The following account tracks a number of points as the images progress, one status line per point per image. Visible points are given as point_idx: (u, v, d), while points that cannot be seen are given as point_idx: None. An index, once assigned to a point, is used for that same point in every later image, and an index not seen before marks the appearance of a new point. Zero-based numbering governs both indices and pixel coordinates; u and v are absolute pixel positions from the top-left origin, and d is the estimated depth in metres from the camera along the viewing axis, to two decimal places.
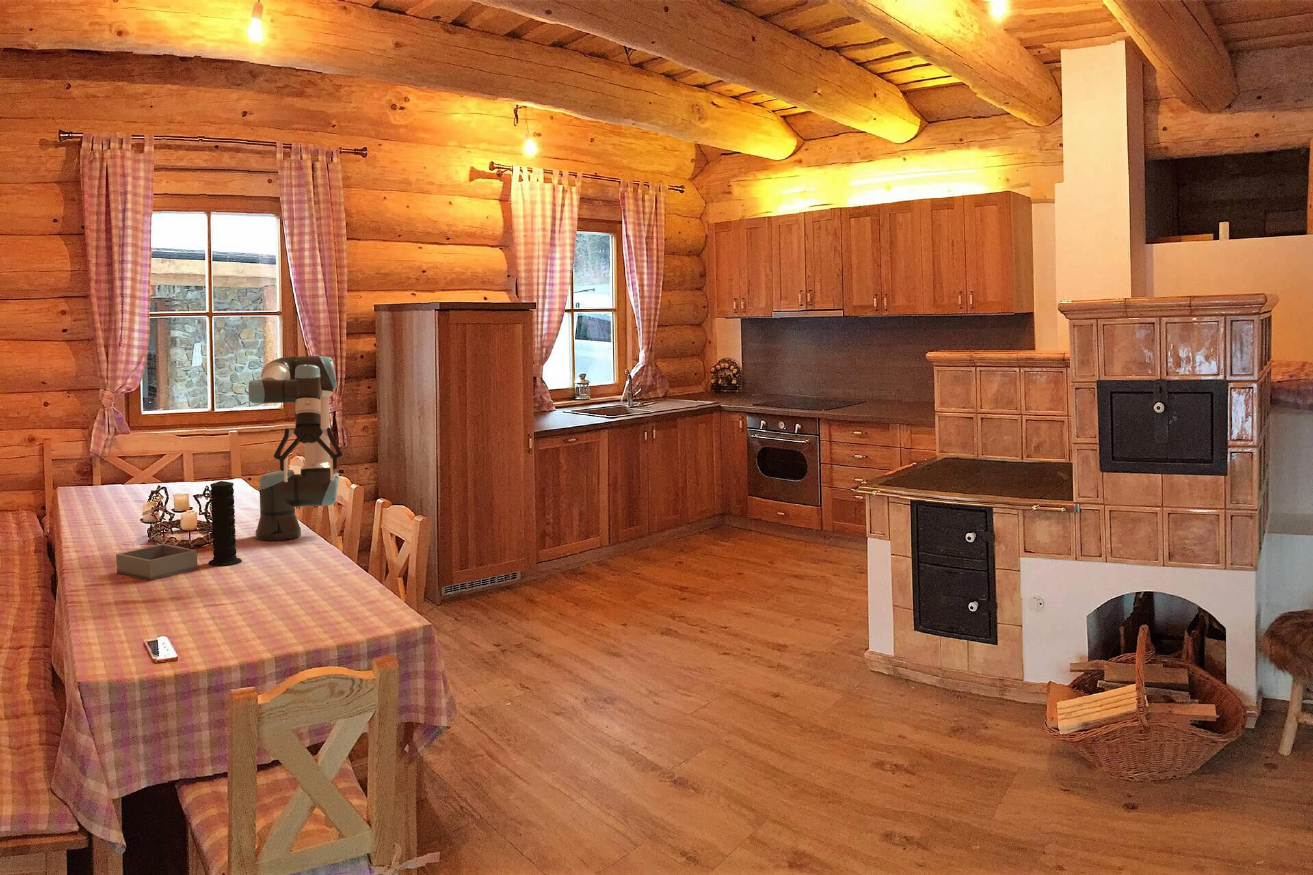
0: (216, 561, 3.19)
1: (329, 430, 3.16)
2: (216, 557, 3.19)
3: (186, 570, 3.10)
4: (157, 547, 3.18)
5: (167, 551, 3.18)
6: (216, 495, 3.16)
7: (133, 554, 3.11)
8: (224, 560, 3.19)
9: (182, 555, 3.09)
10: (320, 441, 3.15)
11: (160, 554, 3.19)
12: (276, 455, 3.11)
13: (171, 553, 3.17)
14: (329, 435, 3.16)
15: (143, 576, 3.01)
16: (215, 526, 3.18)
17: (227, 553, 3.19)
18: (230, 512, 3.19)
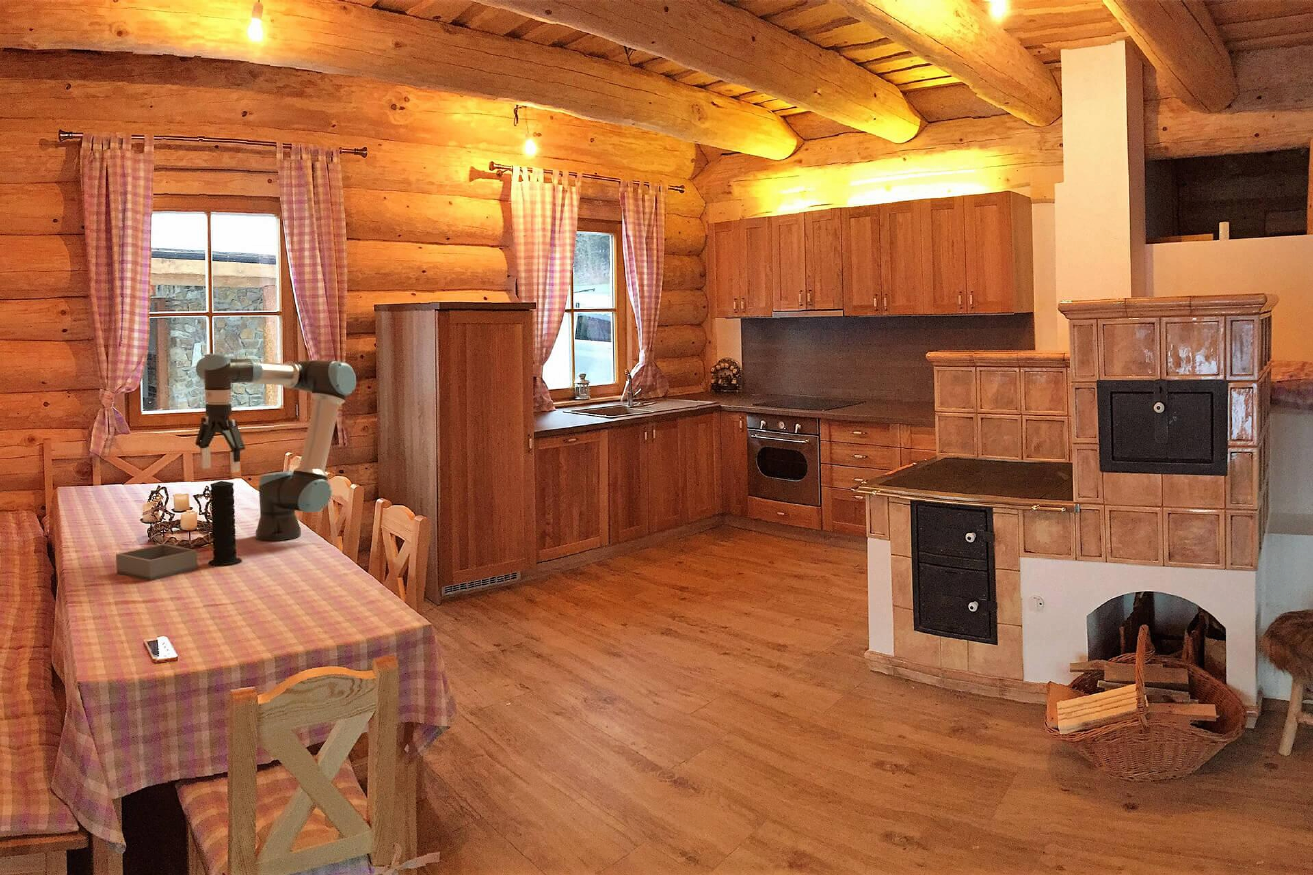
0: (216, 561, 3.19)
1: (229, 423, 3.12)
2: (216, 557, 3.19)
3: (186, 570, 3.10)
4: (157, 547, 3.18)
5: (167, 551, 3.18)
6: (216, 495, 3.16)
7: (133, 554, 3.11)
8: (224, 560, 3.19)
9: (182, 555, 3.09)
10: (223, 433, 3.14)
11: (160, 554, 3.19)
12: (196, 443, 3.21)
13: (171, 553, 3.17)
14: (229, 428, 3.13)
15: (143, 576, 3.01)
16: (215, 526, 3.18)
17: (227, 553, 3.19)
18: (230, 512, 3.19)
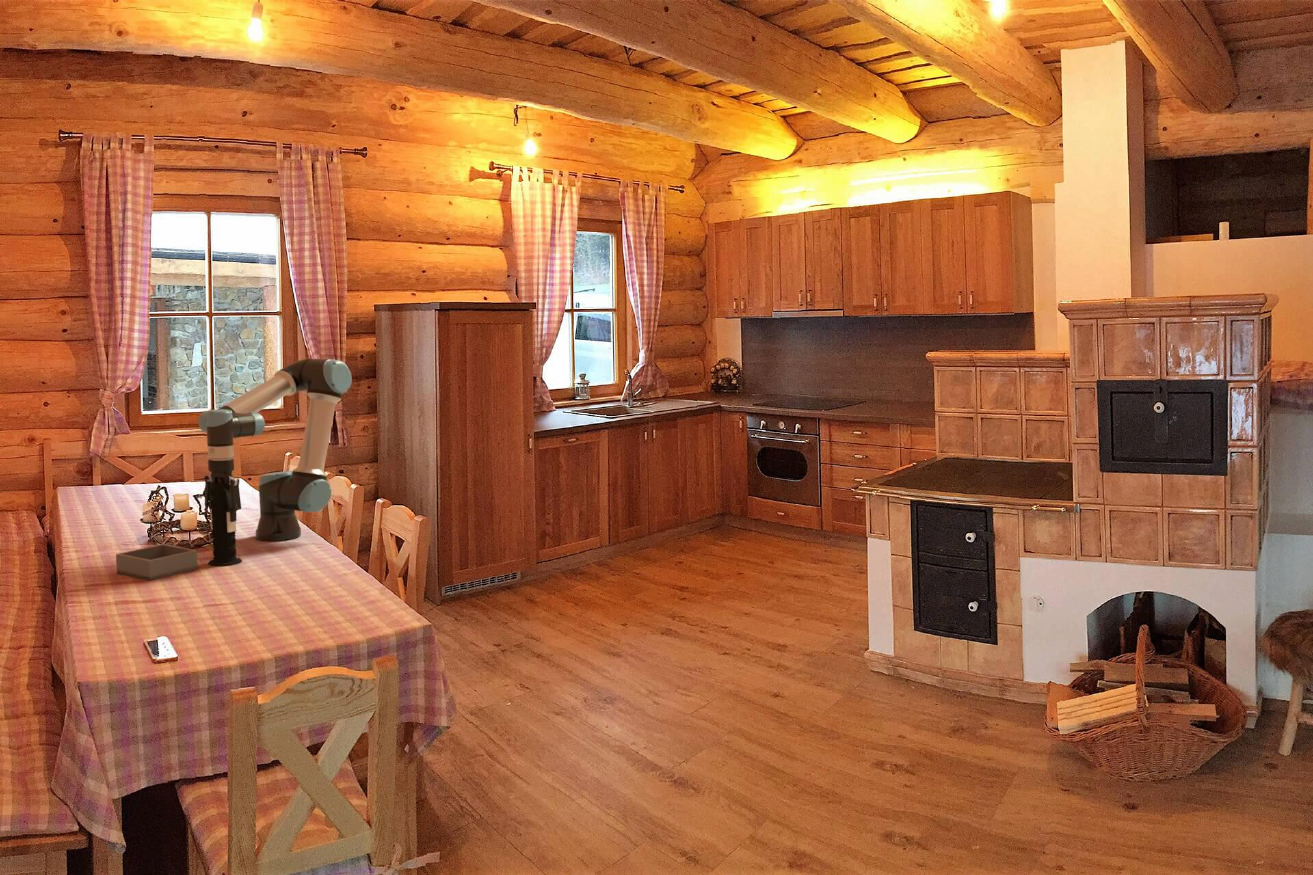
0: (216, 561, 3.19)
1: (231, 482, 3.15)
2: (216, 557, 3.19)
3: (186, 570, 3.10)
4: (157, 547, 3.18)
5: (167, 551, 3.18)
6: (216, 495, 3.16)
7: (133, 554, 3.11)
8: (224, 560, 3.19)
9: (182, 555, 3.09)
10: (223, 490, 3.17)
11: (160, 554, 3.19)
12: (206, 503, 3.22)
13: (171, 553, 3.17)
14: (230, 487, 3.15)
15: (143, 576, 3.01)
16: (215, 526, 3.18)
17: (227, 553, 3.19)
18: None
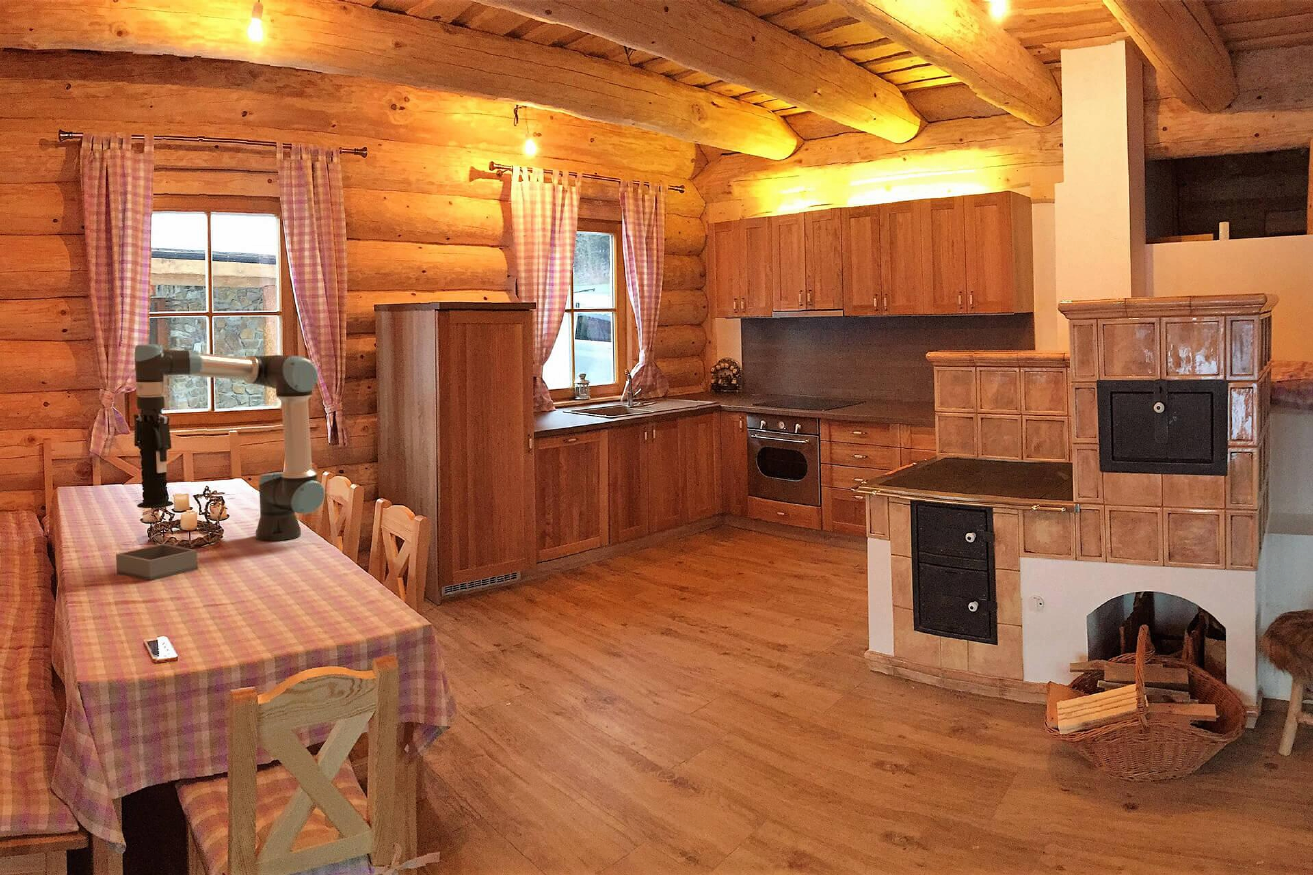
0: (145, 503, 3.05)
1: (160, 420, 3.01)
2: (145, 499, 3.05)
3: (186, 570, 3.10)
4: (157, 547, 3.18)
5: (167, 551, 3.18)
6: (145, 433, 3.02)
7: (133, 554, 3.11)
8: (154, 502, 3.05)
9: (182, 555, 3.09)
10: None
11: (160, 554, 3.19)
12: (135, 443, 3.08)
13: (171, 553, 3.17)
14: (160, 425, 3.01)
15: (143, 576, 3.01)
16: (144, 466, 3.04)
17: (157, 495, 3.05)
18: None
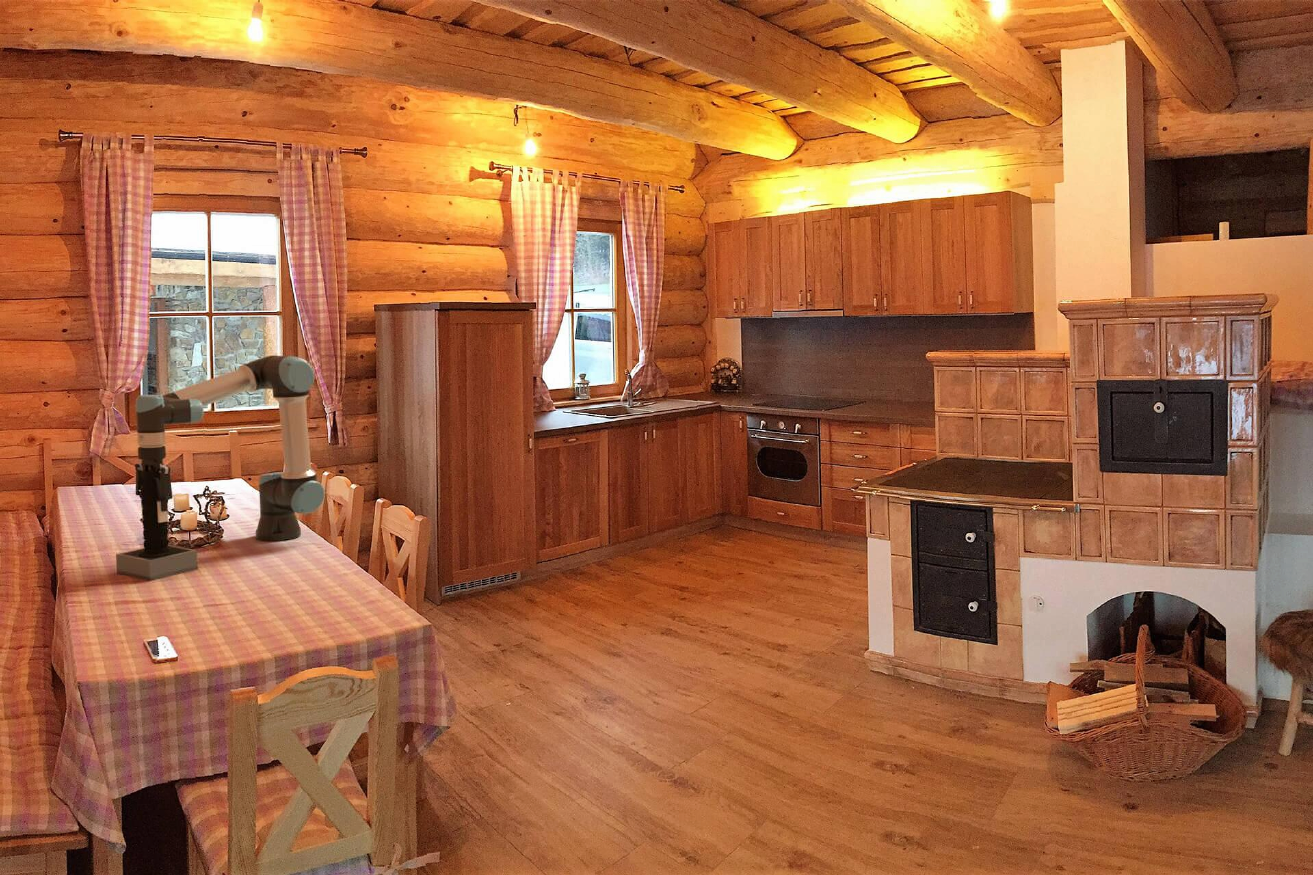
0: (146, 552, 3.06)
1: (161, 470, 3.02)
2: (146, 548, 3.07)
3: (186, 570, 3.10)
4: None
5: None
6: (146, 484, 3.04)
7: (133, 554, 3.11)
8: (155, 551, 3.06)
9: (182, 555, 3.09)
10: None
11: None
12: (136, 493, 3.09)
13: None
14: (161, 475, 3.03)
15: (143, 576, 3.01)
16: (145, 516, 3.05)
17: (158, 544, 3.07)
18: None
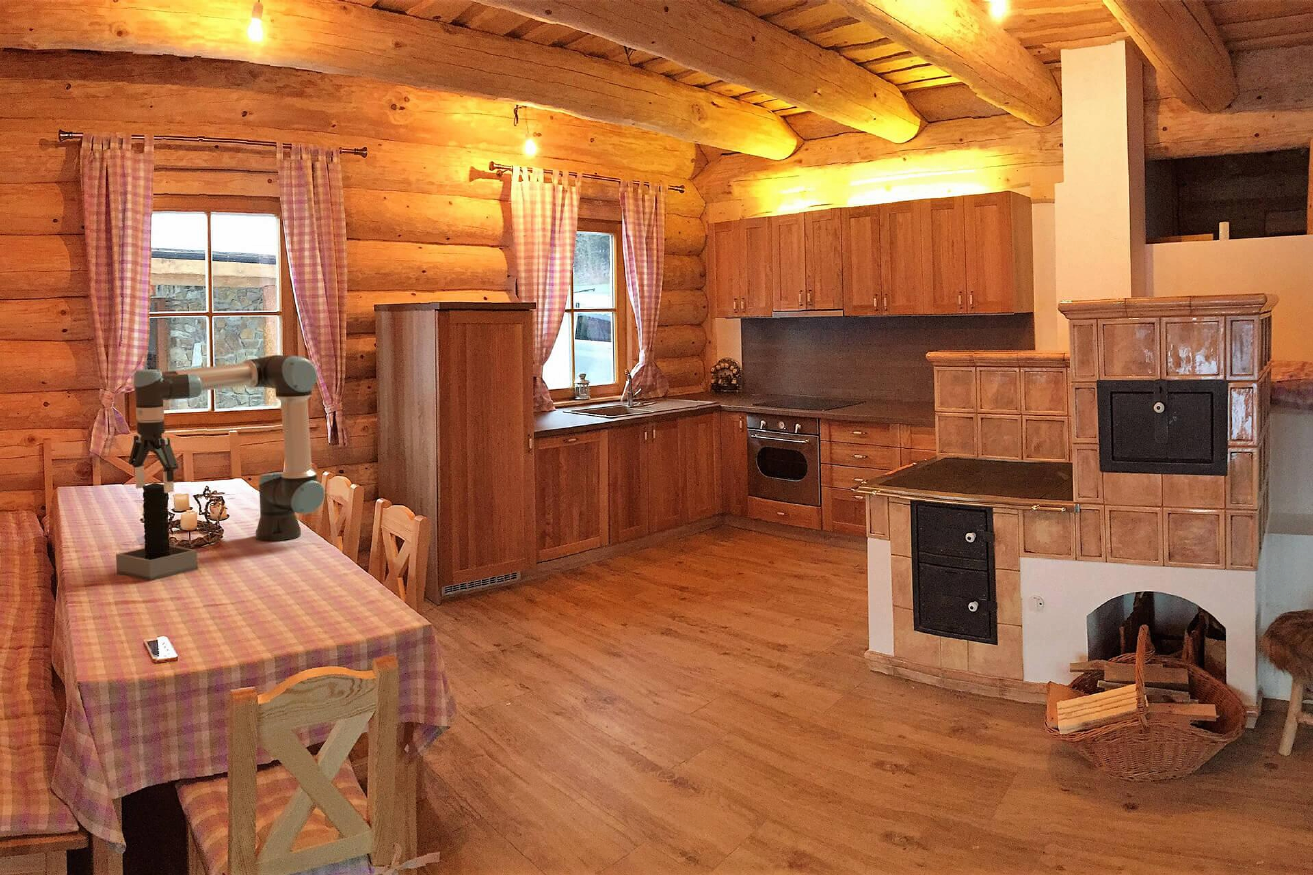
0: None
1: (161, 441, 3.01)
2: None
3: (186, 570, 3.10)
4: None
5: None
6: (148, 498, 3.05)
7: (133, 554, 3.11)
8: None
9: (182, 555, 3.09)
10: (155, 452, 3.03)
11: None
12: (130, 462, 3.10)
13: (171, 553, 3.17)
14: (161, 446, 3.02)
15: (143, 576, 3.01)
16: (147, 530, 3.06)
17: None
18: (163, 516, 3.07)
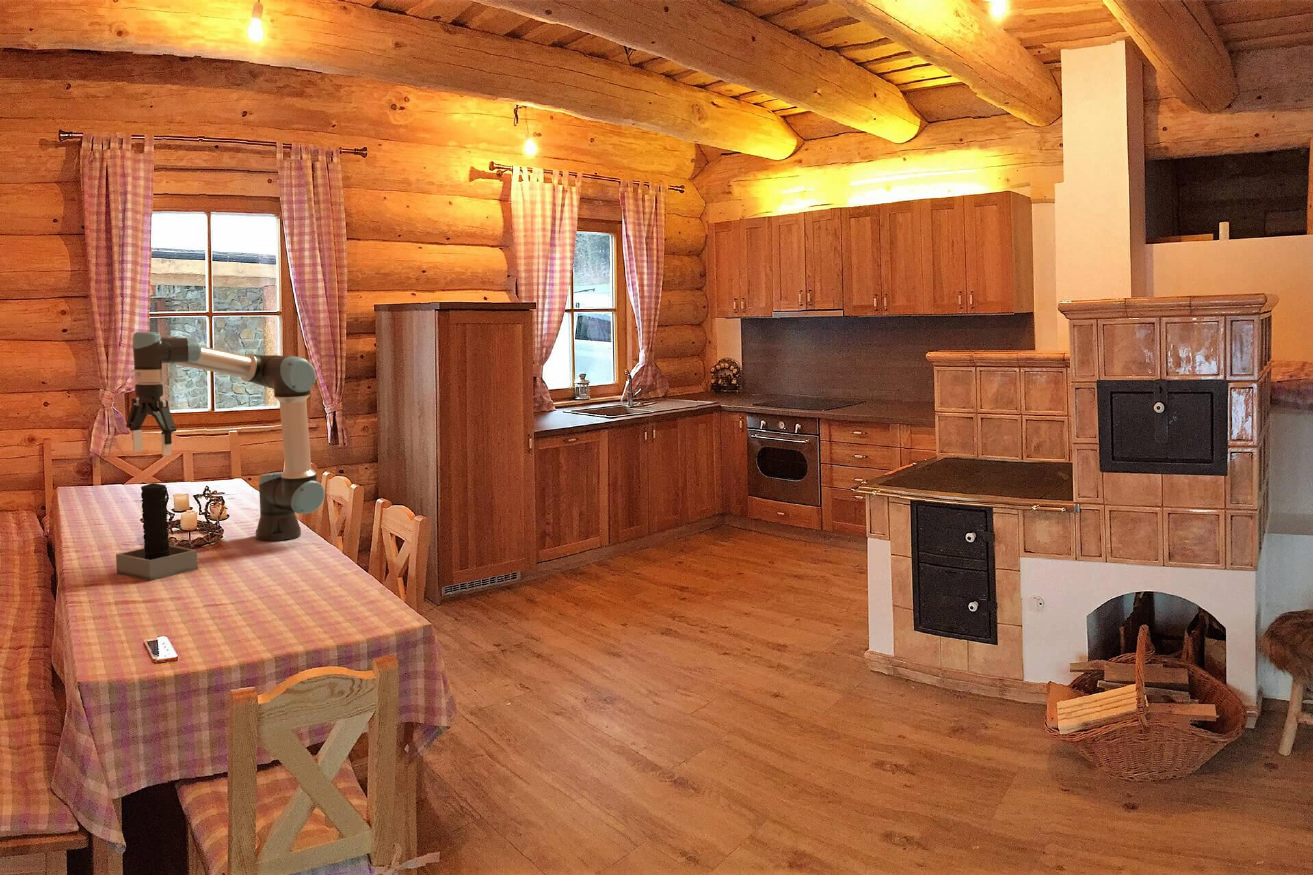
0: None
1: (159, 403, 3.00)
2: None
3: (186, 570, 3.10)
4: None
5: None
6: (147, 498, 3.05)
7: (133, 554, 3.11)
8: None
9: (182, 555, 3.09)
10: (153, 415, 3.02)
11: None
12: (127, 425, 3.08)
13: (171, 553, 3.17)
14: (160, 409, 3.00)
15: (143, 576, 3.01)
16: (146, 530, 3.06)
17: None
18: (162, 515, 3.07)
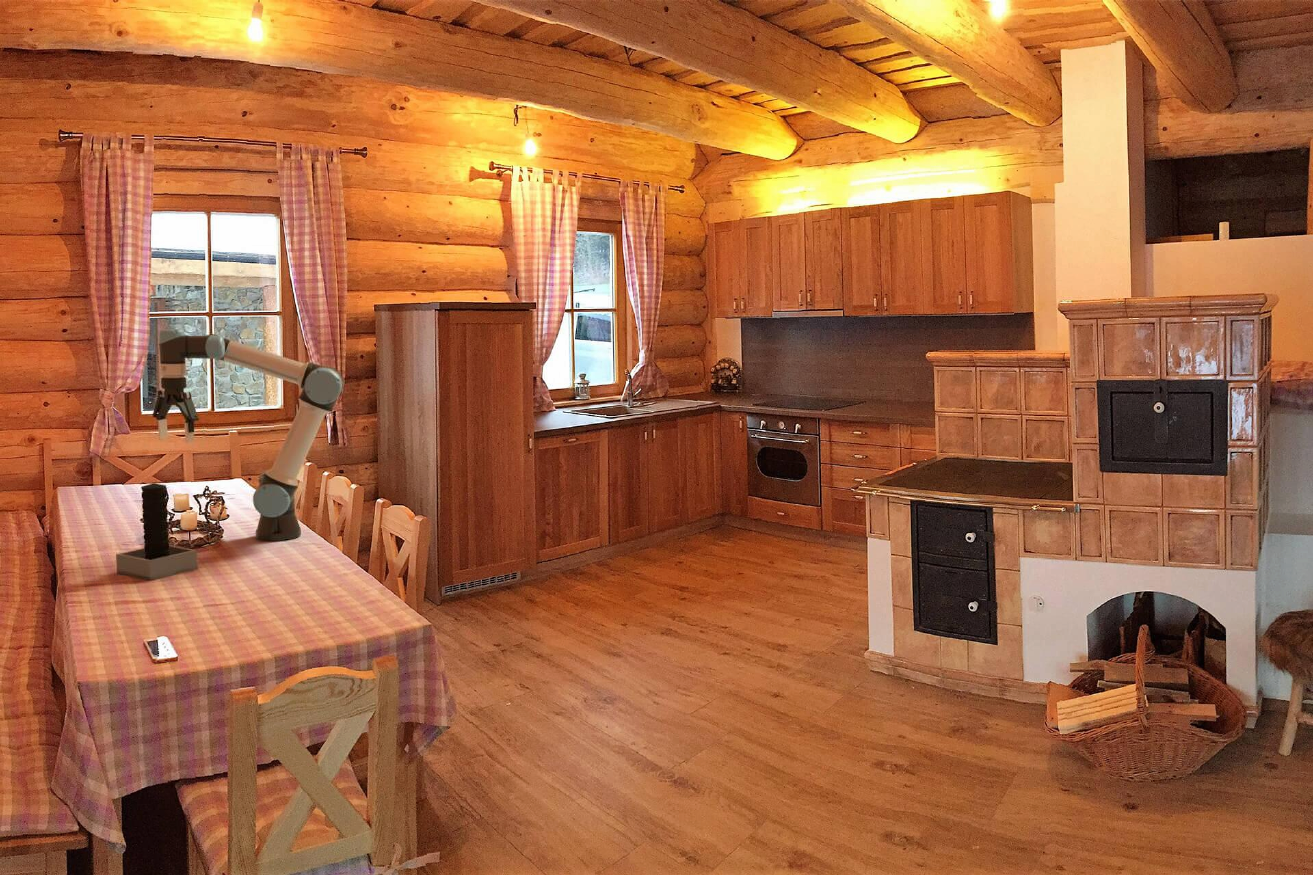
0: None
1: (183, 395, 3.28)
2: None
3: (186, 570, 3.10)
4: None
5: None
6: (147, 498, 3.05)
7: (133, 554, 3.11)
8: None
9: (182, 555, 3.09)
10: (178, 405, 3.29)
11: None
12: (153, 415, 3.36)
13: (171, 553, 3.17)
14: (183, 400, 3.28)
15: (143, 576, 3.01)
16: (146, 530, 3.06)
17: None
18: (162, 516, 3.07)
